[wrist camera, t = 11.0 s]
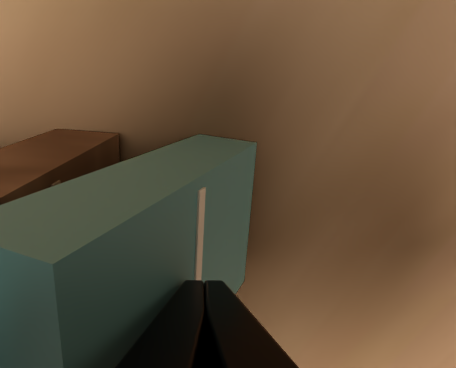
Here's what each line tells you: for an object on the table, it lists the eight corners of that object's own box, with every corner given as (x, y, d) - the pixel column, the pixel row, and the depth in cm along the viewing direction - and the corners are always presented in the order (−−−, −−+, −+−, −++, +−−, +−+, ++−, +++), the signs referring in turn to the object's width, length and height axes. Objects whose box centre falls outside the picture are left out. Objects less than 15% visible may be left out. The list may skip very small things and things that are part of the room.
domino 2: (258, 142, 11) (55, 265, 4) (245, 280, 13) (83, 537, 6) (197, 133, 12) (-65, 226, 5) (192, 266, 14) (-10, 478, 7)
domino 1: (120, 133, 12) (-131, 271, 4) (124, 270, 13) (-50, 555, 6) (55, 128, 12) (-312, 254, 4) (67, 265, 13) (-180, 538, 6)
